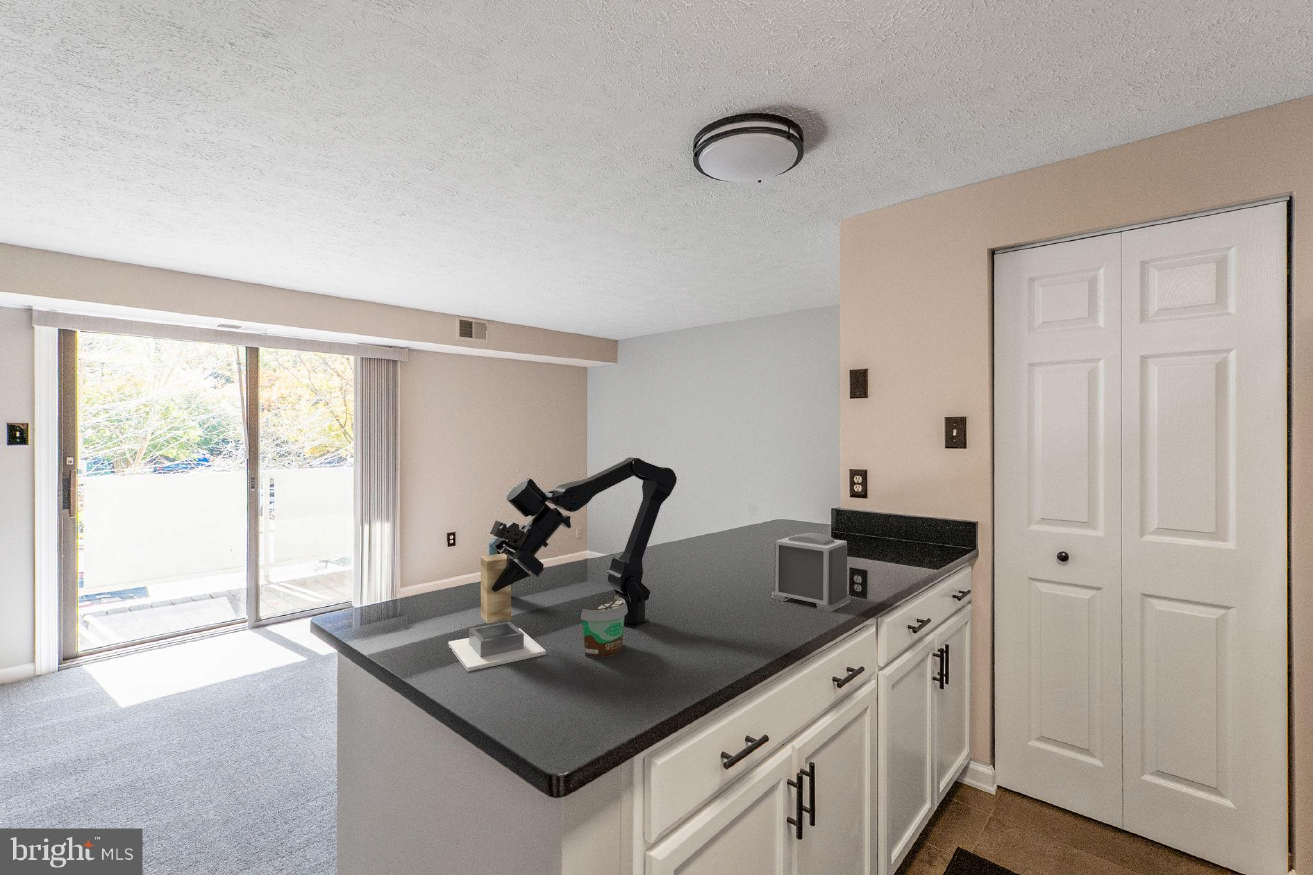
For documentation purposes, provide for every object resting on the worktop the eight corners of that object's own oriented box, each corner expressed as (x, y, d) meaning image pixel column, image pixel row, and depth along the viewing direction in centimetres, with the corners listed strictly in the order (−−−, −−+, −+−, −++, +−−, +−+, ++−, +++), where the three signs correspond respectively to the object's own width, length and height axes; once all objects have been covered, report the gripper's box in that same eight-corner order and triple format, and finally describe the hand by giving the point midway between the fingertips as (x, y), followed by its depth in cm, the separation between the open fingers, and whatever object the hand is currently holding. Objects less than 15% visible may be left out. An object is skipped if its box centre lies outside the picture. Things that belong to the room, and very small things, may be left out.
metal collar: (509, 635, 128) (509, 621, 127) (523, 648, 120) (523, 633, 120) (468, 643, 123) (468, 628, 123) (480, 657, 115) (480, 641, 115)
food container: (604, 664, 114) (604, 614, 114) (580, 658, 117) (580, 609, 117) (638, 645, 124) (638, 599, 124) (615, 639, 128) (616, 595, 128)
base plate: (519, 631, 132) (519, 628, 132) (545, 654, 119) (545, 650, 119) (448, 645, 124) (448, 641, 124) (467, 671, 110) (467, 667, 110)
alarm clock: (852, 601, 158) (852, 535, 158) (832, 612, 148) (833, 542, 148) (791, 589, 170) (792, 527, 170) (769, 598, 160) (770, 533, 160)
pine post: (504, 612, 125) (503, 553, 125) (511, 619, 121) (510, 558, 120) (480, 616, 122) (480, 556, 122) (487, 623, 118) (486, 561, 118)
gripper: (500, 502, 131) (451, 555, 125) (528, 512, 115) (473, 573, 110) (533, 533, 136) (487, 586, 130) (565, 546, 120) (513, 607, 114)
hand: (489, 587), depth 121 cm, fingers closed on pine post, 5 cm apart
